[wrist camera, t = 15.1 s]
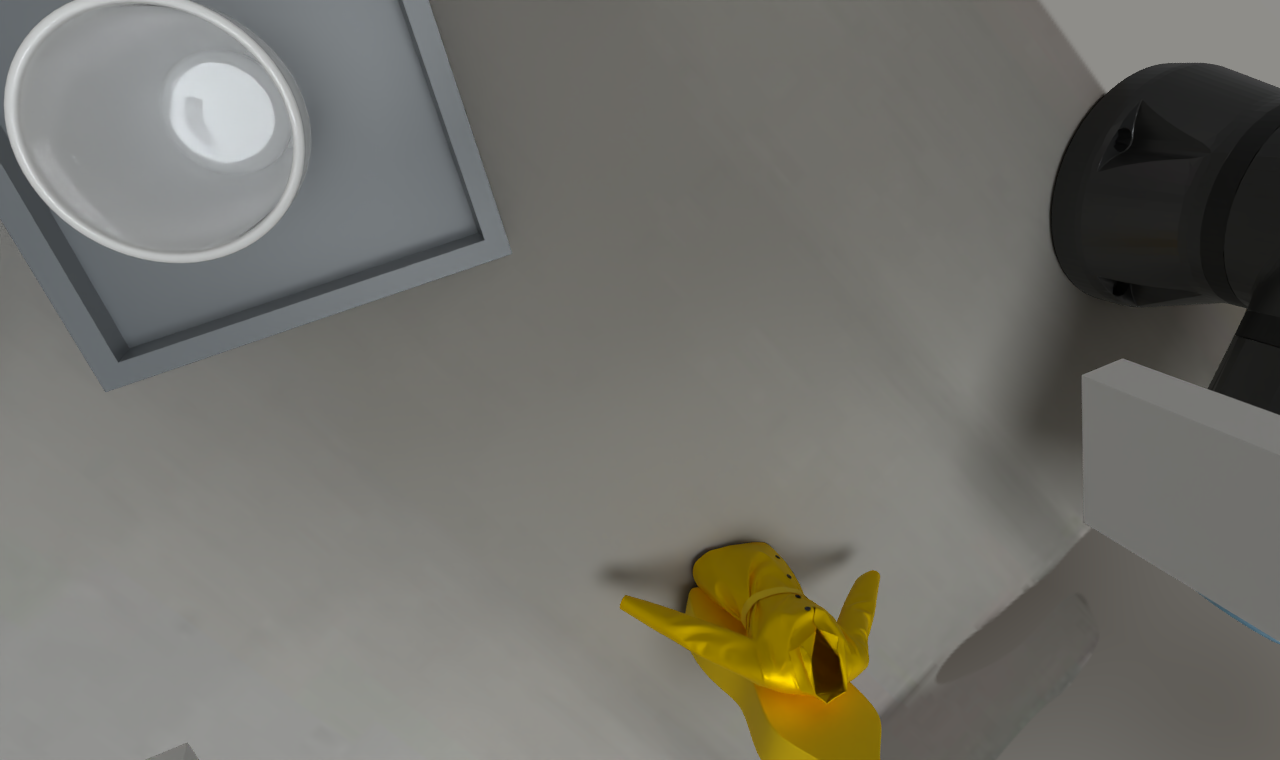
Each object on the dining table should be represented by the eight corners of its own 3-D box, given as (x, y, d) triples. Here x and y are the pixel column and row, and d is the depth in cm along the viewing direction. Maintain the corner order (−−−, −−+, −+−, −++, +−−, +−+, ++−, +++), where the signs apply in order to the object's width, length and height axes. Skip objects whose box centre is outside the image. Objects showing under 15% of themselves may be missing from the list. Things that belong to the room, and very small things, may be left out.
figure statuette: (855, 523, 54) (1143, 772, 35) (833, 621, 57) (1090, 906, 37) (605, 540, 48) (785, 856, 28) (592, 650, 50) (750, 1010, 31)
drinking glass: (105, 47, 31) (-70, 26, 18) (280, 4, 33) (239, -47, 19) (188, 215, 34) (90, 302, 21) (346, 168, 35) (348, 222, 22)
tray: (359, -181, 32) (360, -205, 30) (501, 242, 40) (512, 253, 37) (-139, -76, 28) (-188, -92, 26) (122, 369, 36) (105, 392, 33)
